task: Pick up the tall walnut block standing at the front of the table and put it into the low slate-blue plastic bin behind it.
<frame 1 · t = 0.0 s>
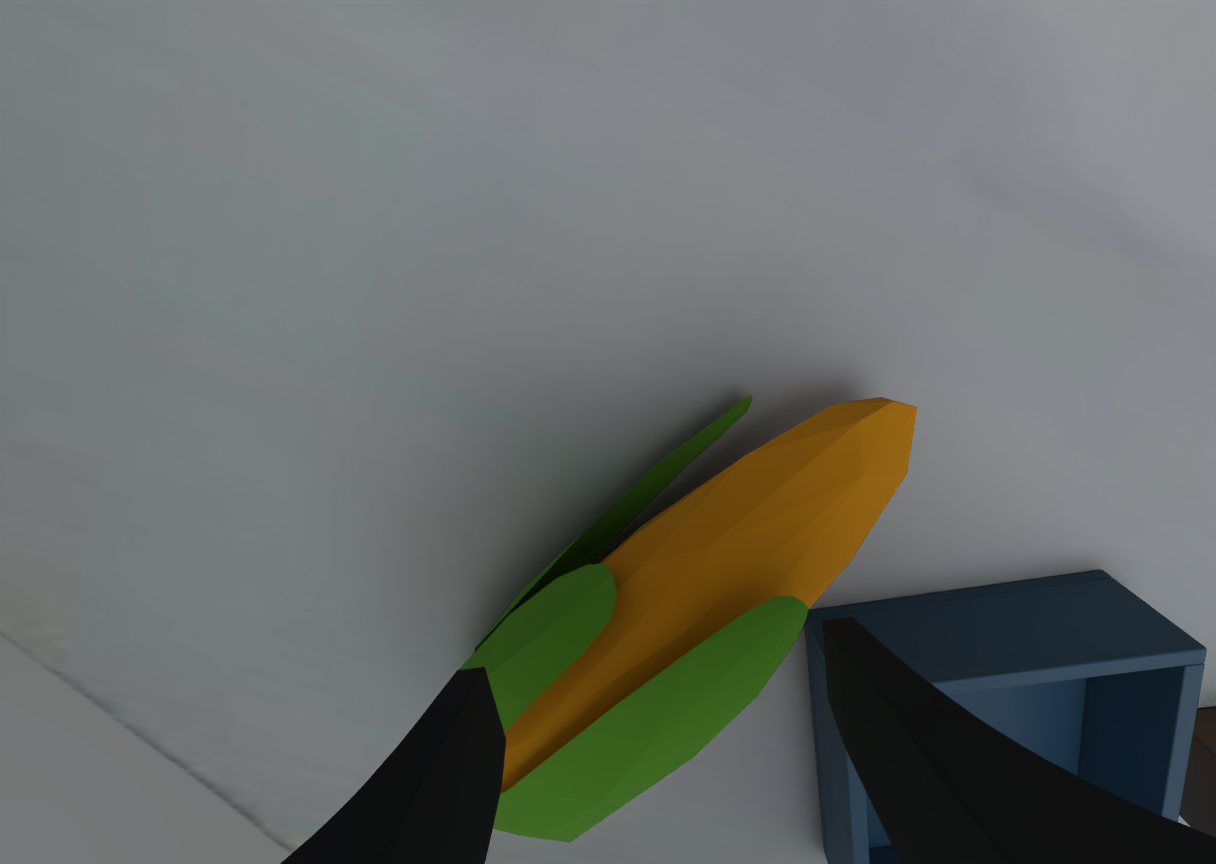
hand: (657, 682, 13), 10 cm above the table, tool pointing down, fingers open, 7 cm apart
bin: (949, 724, 26), on the table
corn: (652, 552, 24), on the table
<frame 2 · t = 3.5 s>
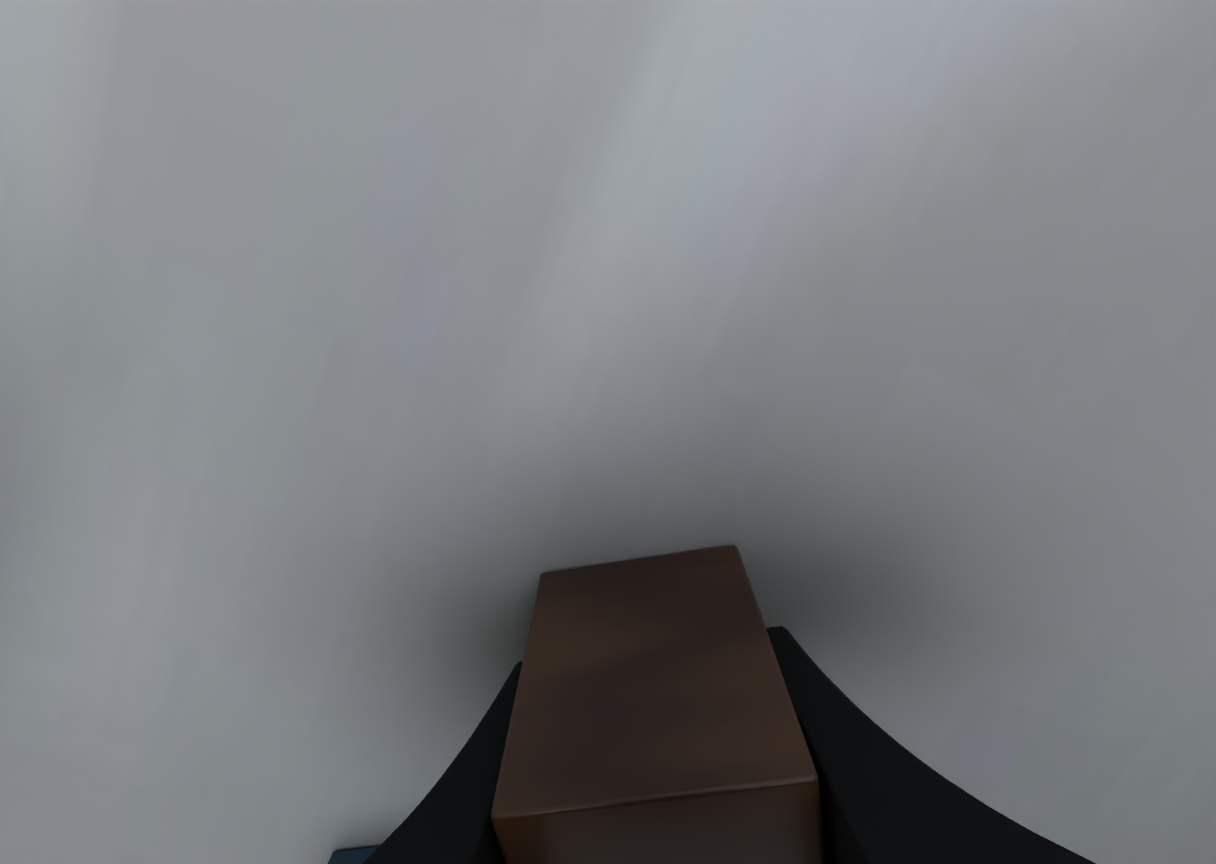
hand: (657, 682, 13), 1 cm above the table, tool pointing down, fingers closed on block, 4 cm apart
block: (652, 639, 15), on the table, touching gripper
when the fingers open (2 cm above the table, at t = 8.0 s): block stays where it is, resting on bin.
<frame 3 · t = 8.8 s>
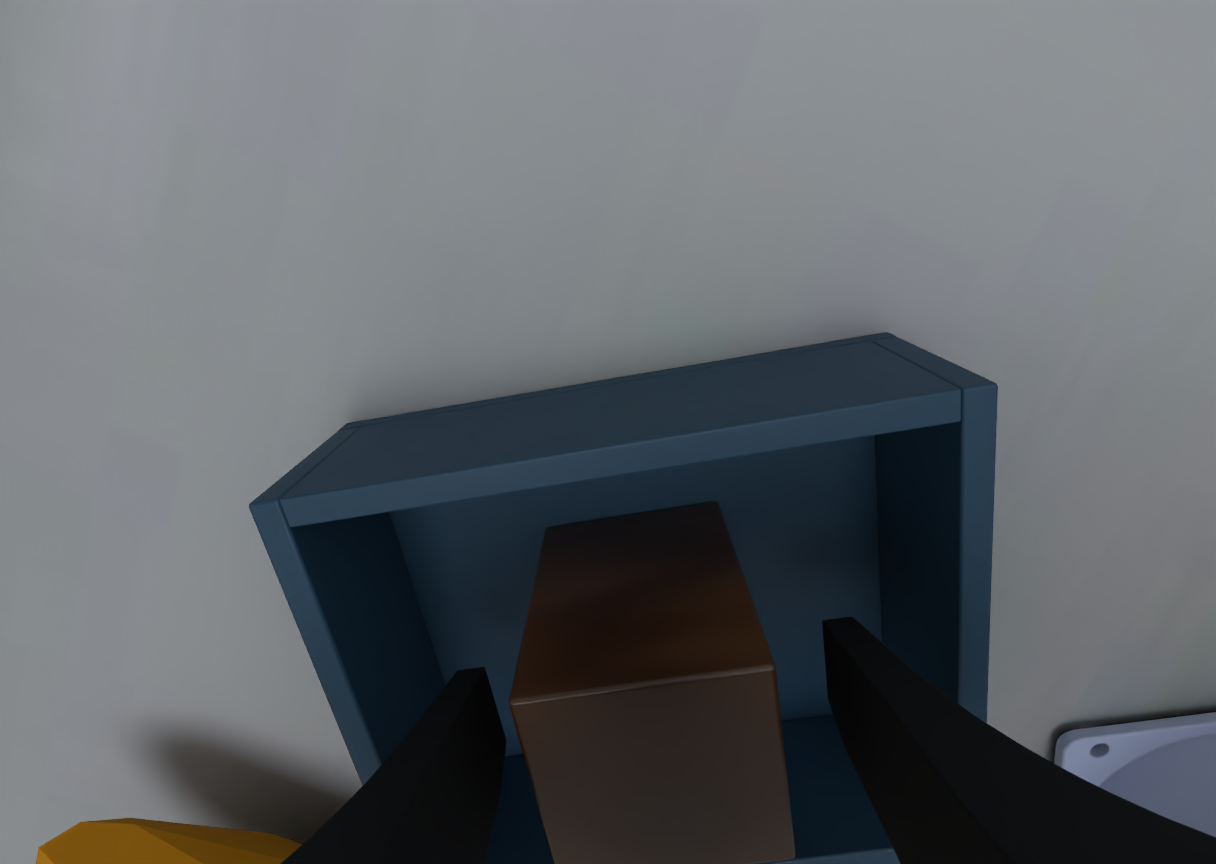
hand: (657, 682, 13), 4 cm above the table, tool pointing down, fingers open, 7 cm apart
bin: (645, 577, 17), on the table
block: (643, 587, 17), resting on bin
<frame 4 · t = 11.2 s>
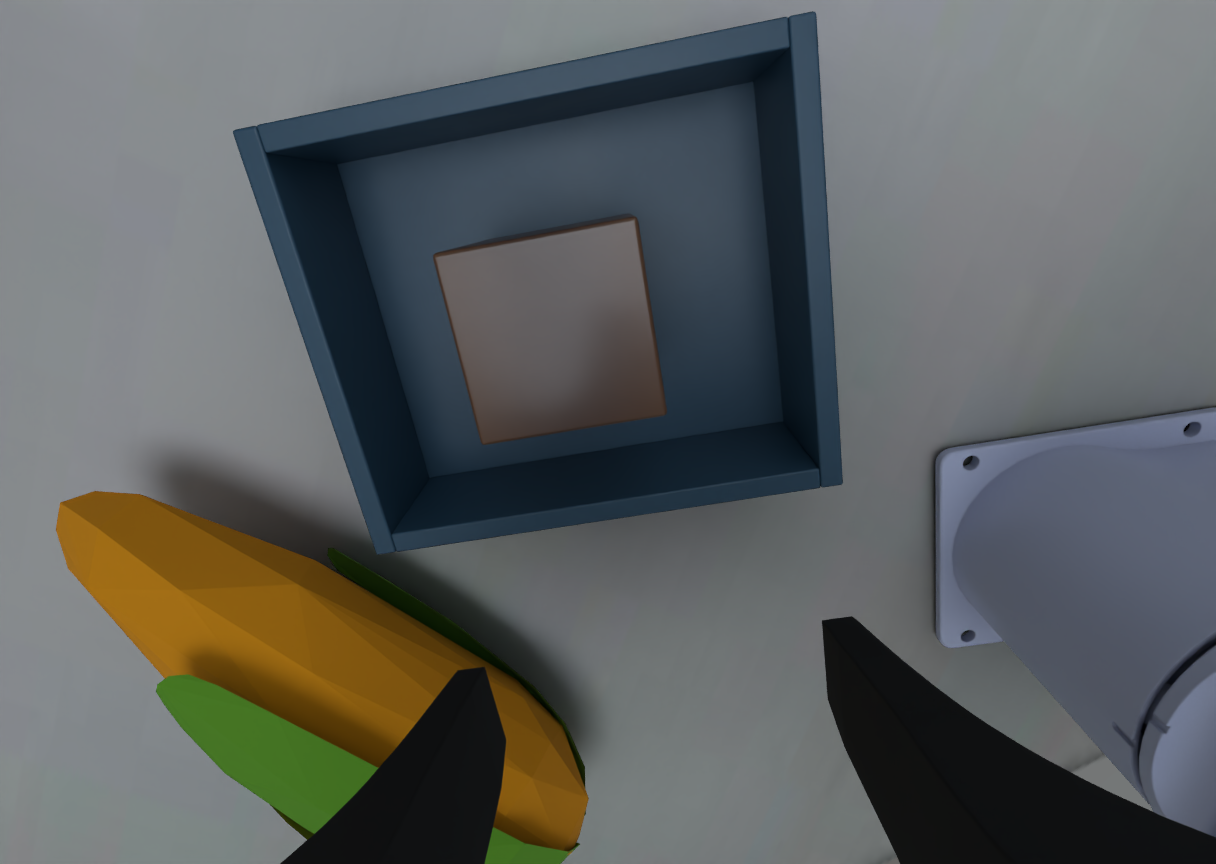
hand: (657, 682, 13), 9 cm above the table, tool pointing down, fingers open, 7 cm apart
bin: (575, 298, 20), on the table
block: (572, 300, 19), resting on bin
corn: (376, 626, 24), on the table
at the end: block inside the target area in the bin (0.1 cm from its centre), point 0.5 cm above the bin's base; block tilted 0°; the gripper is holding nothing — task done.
